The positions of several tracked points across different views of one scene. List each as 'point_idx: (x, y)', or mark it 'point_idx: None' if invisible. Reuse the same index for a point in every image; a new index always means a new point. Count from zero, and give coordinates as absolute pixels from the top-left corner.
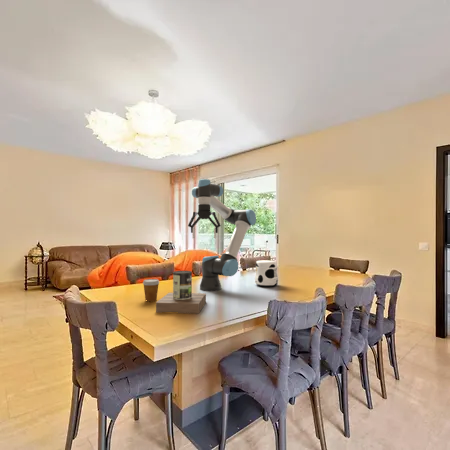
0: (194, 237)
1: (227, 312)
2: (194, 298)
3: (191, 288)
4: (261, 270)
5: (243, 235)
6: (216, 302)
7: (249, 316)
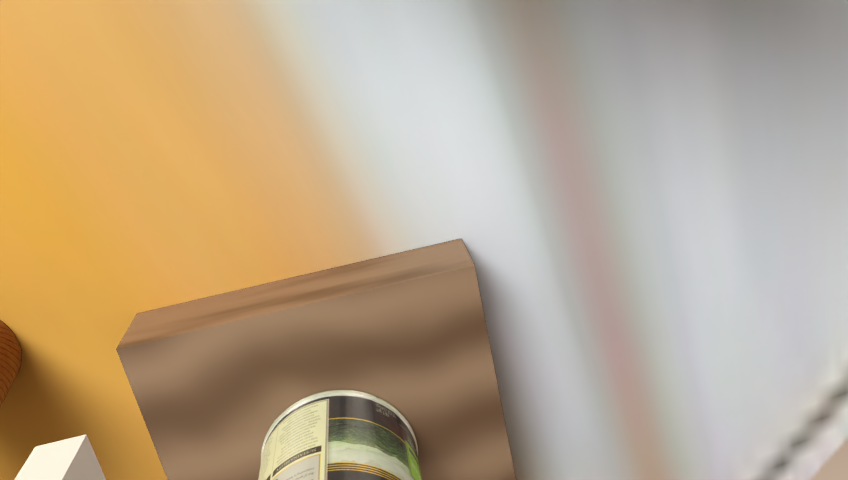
0: (88, 476)
1: (687, 414)
2: (444, 442)
3: None
4: None
5: None
6: (550, 216)
7: (828, 435)
